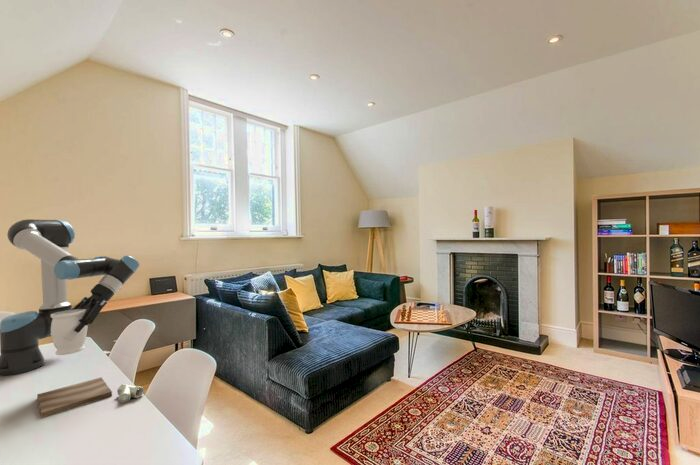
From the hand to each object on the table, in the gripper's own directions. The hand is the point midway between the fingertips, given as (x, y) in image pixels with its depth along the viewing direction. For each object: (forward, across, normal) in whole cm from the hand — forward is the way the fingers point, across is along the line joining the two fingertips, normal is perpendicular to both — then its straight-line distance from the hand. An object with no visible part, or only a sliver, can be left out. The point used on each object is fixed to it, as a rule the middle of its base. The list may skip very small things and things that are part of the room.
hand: (60, 337), depth 123 cm
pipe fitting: (+9, -31, -18) cm, 37 cm away
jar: (+2, 0, -6) cm, 7 cm away
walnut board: (+14, -13, -12) cm, 23 cm away
